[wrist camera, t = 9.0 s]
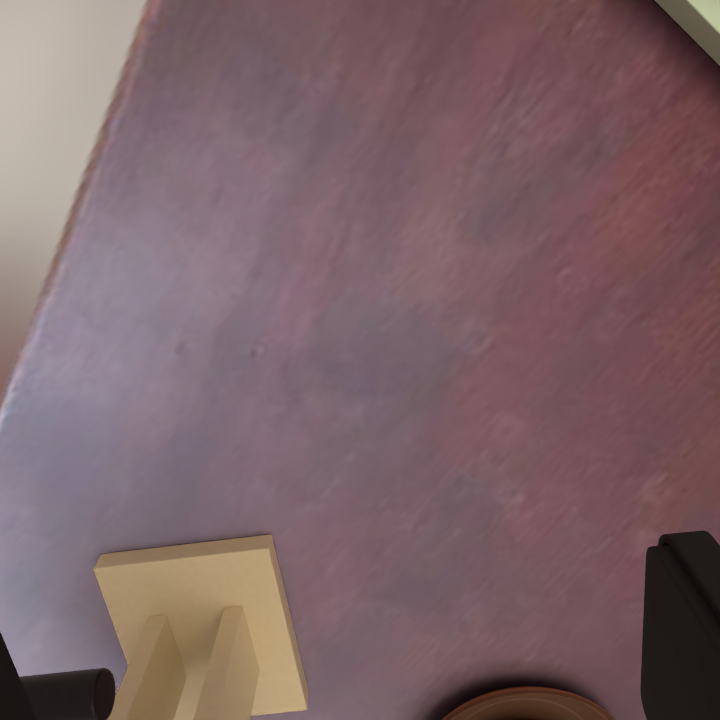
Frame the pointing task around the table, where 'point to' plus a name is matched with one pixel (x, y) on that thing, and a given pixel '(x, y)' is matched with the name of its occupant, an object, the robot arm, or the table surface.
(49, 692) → the lever
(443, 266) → the table surface
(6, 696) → the robot arm
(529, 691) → the cup and saucer
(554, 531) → the table surface
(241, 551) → the bracket
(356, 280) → the table surface
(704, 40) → the button block
